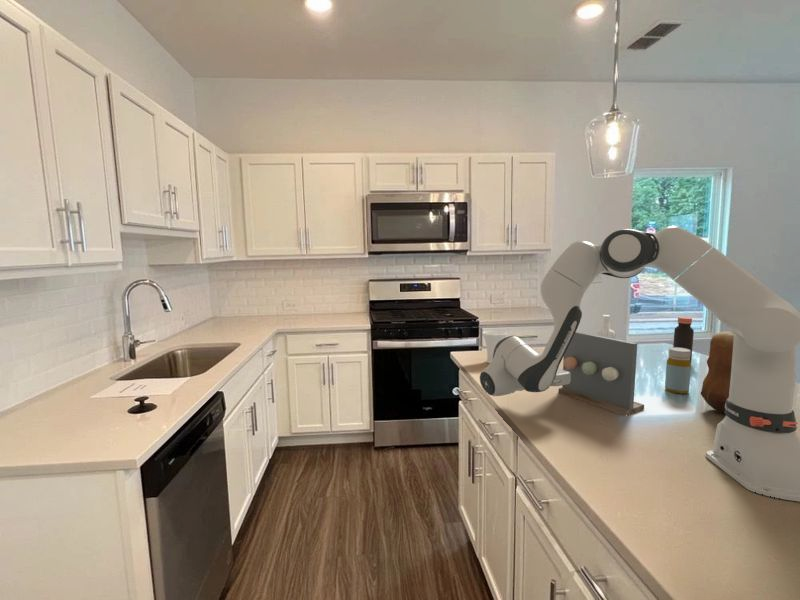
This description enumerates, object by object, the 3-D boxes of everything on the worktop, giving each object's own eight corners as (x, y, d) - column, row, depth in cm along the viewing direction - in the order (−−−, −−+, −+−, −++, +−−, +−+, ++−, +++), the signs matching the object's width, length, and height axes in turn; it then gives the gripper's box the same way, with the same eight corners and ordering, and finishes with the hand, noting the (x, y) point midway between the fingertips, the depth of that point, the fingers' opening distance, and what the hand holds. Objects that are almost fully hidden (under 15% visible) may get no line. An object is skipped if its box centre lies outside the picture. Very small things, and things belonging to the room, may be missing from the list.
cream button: (613, 382, 123) (614, 369, 123) (601, 378, 126) (602, 366, 126) (618, 381, 124) (619, 368, 124) (606, 377, 128) (606, 365, 127)
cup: (481, 364, 178) (481, 334, 176) (483, 358, 188) (483, 329, 186) (505, 366, 175) (506, 335, 173) (506, 360, 185) (507, 330, 183)
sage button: (592, 376, 129) (593, 364, 129) (581, 373, 132) (582, 361, 132) (597, 375, 130) (598, 362, 130) (586, 371, 134) (586, 360, 133)
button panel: (625, 416, 123) (629, 344, 120) (558, 392, 143) (560, 331, 140) (643, 409, 128) (648, 340, 125) (576, 387, 148) (579, 327, 145)
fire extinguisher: (595, 384, 151) (598, 317, 148) (594, 374, 162) (597, 312, 159) (615, 386, 148) (619, 319, 145) (613, 376, 159) (616, 313, 156)
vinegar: (668, 362, 179) (671, 317, 176) (679, 360, 181) (683, 316, 178) (683, 366, 172) (686, 319, 170) (695, 364, 174) (698, 318, 172)
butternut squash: (752, 410, 126) (760, 330, 123) (763, 426, 115) (773, 339, 112) (697, 401, 133) (703, 326, 130) (702, 416, 122) (709, 334, 119)
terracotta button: (573, 370, 135) (573, 359, 135) (563, 367, 138) (563, 356, 138) (578, 369, 136) (578, 358, 136) (567, 366, 140) (568, 355, 139)
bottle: (692, 395, 139) (696, 352, 137) (669, 393, 141) (673, 351, 139) (683, 388, 146) (686, 347, 144) (661, 387, 147) (664, 346, 146)
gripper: (553, 373, 117) (583, 365, 124) (501, 357, 134) (530, 351, 141) (552, 394, 117) (582, 385, 124) (501, 376, 135) (530, 369, 142)
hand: (554, 367), depth 133 cm, fingers closed
